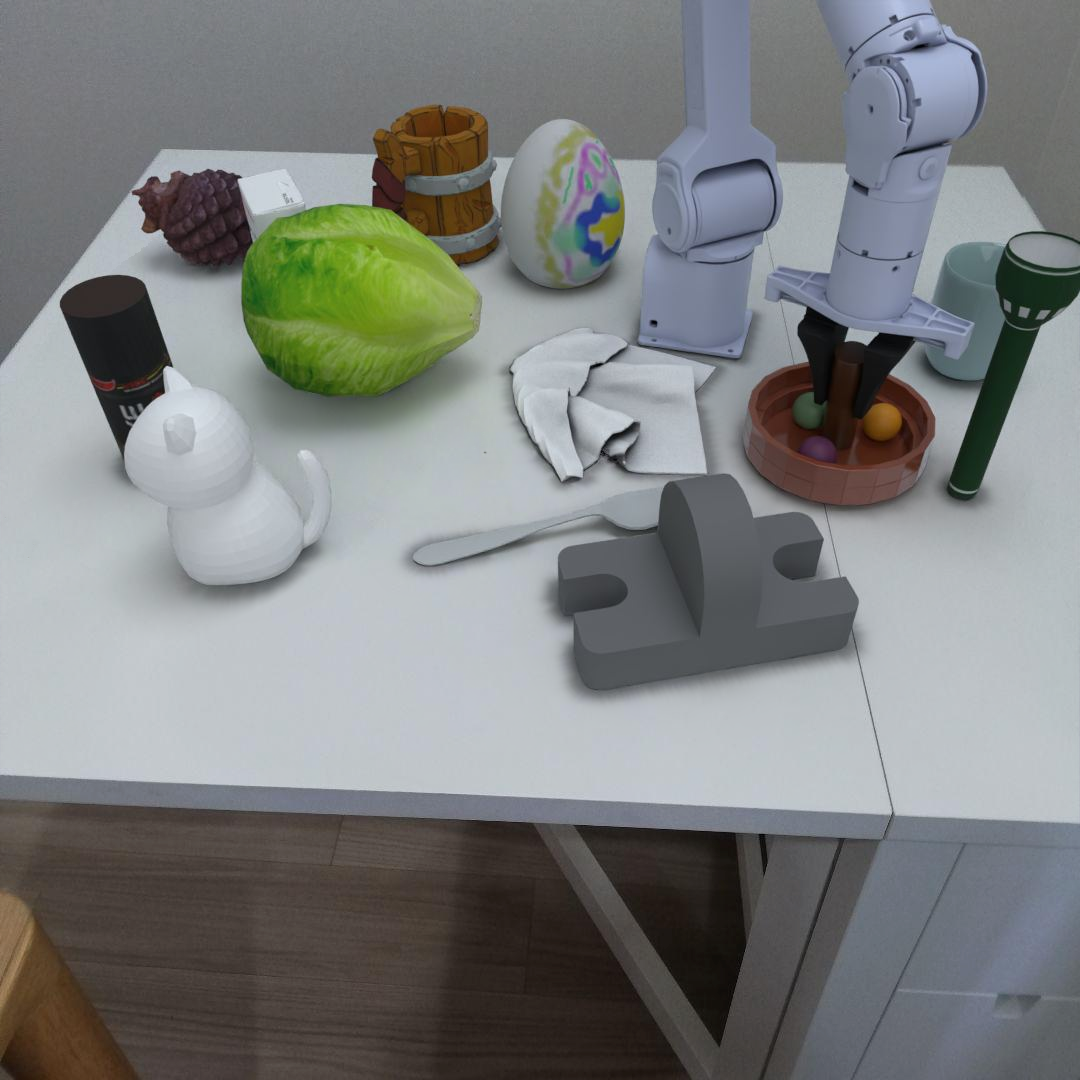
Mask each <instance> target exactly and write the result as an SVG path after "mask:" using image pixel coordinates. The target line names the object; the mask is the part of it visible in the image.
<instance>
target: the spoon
mask: <svg viewBox="0 0 1080 1080" xmlns="http://www.w3.org/2000/svg"><path fill="white" fill-rule="evenodd" d="M663 488H664V487H655V488H647V489H640V490H633V491H628V492H622V493H619V494H615V495H613V496H611V497H609V498H607V499H606V500H604V501H602V502H600V503H598V504H597V503H596V504H593V505H590V506H587V507H585V508H581V509H578V510H575V511H571V512H568V513H565V514H561V515H557V516H552V517H549V518H544V519H540V520H536V521H531V522H526V523H522V524H517V525H513V526H508V527H503V528H499V529H494V530H490V531H485V532H481V533H476V534H472V535H467V536H463V537H457V538H454V539H448V540H443V541H439V542H437V541H436V542H433V543H429V544H427V545H424V546H422V547H420V548H419V549H417V550H416V551H415V552H414V554H413V555H412V560H413V561H414V562H416V563H418V564H419V565H422V566H437V565H442V564H446V563H450V562H453V561H457V560H460V559H463V558H468V557H470V556H474V555H477V554H482V553H484V552H487V551H490V550H493V549H497V548H499V547H502V546H504V545H507V544H510V543H513V542H515V541H518V540H520V539H523V538H525V537H528V536H531V535H534V534H536V533H538V532H541V531H543V530H546V529H551V528H553V527H556V526H559V525H563V524H566V523H569V522H572V521H576V520H580V519H584V518H589V517H594V516H596V517H602V518H603V519H606V520H608V521H610V522H611V523H613V524H614V525H616V526H617V527H620V528H623V529H625V530H626V529H627V530H630V531H631V530H632V531H640V530H641V531H643V530H647V529H650V528H654V527H658V520H659V508H660V500H661V494H662V491H663Z"/></svg>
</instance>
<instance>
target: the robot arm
mask: <svg viewBox="0 0 1080 1080" xmlns="http://www.w3.org/2000/svg"><path fill="white" fill-rule="evenodd" d="M815 2H816V5H817V8H818V10H819V12H820V14H821V17H822V19H823V21H824V24H825V26H826V29H827V31H828V35H829V36H830V38H831V41H832V43H833V46H834V47H835V48H834V49H835V51H836V53H837V55H838V58H839V60H840V62H841V65H842V67H843V70H844V72H845V73H844V74H845V75H846V77H847V80H848V82H849V84H850V86H849V88H848V91H843V92H842V98H841V99H842V100H841V119H842V124H843V129H844V133H845V138H846V139H845V140H846V148H845V153H844V158H843V163H844V164H845V172H846V174H847V175H848V179H847V185H846V190H845V195H844V199H843V200H844V201H843V205H842V210H841V214H840V215H841V216H840V220H839V225H838V230H837V235H836V240H835V246H834V251H833V255H832V260H831V266H830V272H822V271H815V270H814V271H813V270H806V269H797V268H793V267H787V266H785V265H781V264H779V265H777V267H775V269H773V271H771V273H769V274H768V275H767V277H766V283H765V290H764V297H763V299H764V300H766V301H769V302H772V303H778V302H780V301H781V300H782V301H786V302H788V303H792V304H795V305H798V306H801V307H804V308H806V309H805V313H804V315H803V318H802V319H801V320H800V322H799V323H798V324H797V332H796V333H797V334H796V335H797V337H798V339H799V341H800V343H801V345H802V347H803V350H804V352H805V355H806V358H807V362H809V365H810V369H811V374H812V381H813V391H814V403H815V404H818V405H821V406H822V405H823V404H824V403H825V401H826V400H827V394H828V388H829V382H830V376H831V370H832V364H833V358H834V352H835V349H836V347H837V346H838V345H839V344H841V343H843V342H846V339H847V336H848V335H847V334H848V332H849V329H854V330H859V331H865V332H872V333H873V332H874V333H878V334H876V336H874V337H873V338H872V340H870V342H869V343H868V344H866V345H867V346H866V348H865V350H864V363H863V373H862V380H861V386H860V389H859V393H858V396H857V399H856V402H855V405H854V410H853V417H855V418H857V419H863V417H864V416H865V415H866V414H867V412H868V411H869V410H870V409H871V407H872V404H873V402H874V400H875V397H876V395H877V393H878V391H879V389H880V388H881V386H882V384H883V383H884V381H885V379H886V378H887V376H888V375H889V374H890V373H891V372H892V370H893V369H895V367H896V366H897V365H898V364H899V363H900V362H901V361H902V360H903V359H904V357H905V356H906V355H907V353H908V352H909V351H910V350H911V348H912V347H913V346H914V345H915V344H916V342H917V343H920V344H923V345H925V344H926V345H929V346H932V347H936V348H939V349H942V350H944V352H943V354H944V355H945V356H947V357H950V358H953V359H959V358H960V356H961V355H962V354H963V352H964V351H965V349H966V348H967V347H968V344H969V340H970V337H971V334H972V331H973V328H974V325H975V323H974V322H970V321H967V320H964V319H962V318H959V317H957V316H954V315H952V314H950V313H948V312H946V311H944V310H942V309H940V308H939V307H937V306H935V305H933V304H931V302H929V301H927V300H925V299H923V298H922V297H920V296H917V295H916V294H915V293H914V289H915V286H916V282H917V278H918V274H919V270H920V266H921V263H922V259H923V255H924V252H925V247H926V245H927V242H928V241H927V240H928V237H929V233H930V230H931V226H932V222H933V218H934V214H935V210H936V207H937V203H938V200H939V195H940V193H941V188H942V184H943V180H944V177H945V174H946V169H947V166H948V162H949V158H950V155H951V151H952V147H953V143H951V142H953V141H955V140H959V139H961V138H964V137H965V136H967V135H969V133H971V132H972V131H973V129H974V128H975V127H976V126H977V124H978V123H979V121H980V119H981V118H982V116H983V113H984V110H985V107H986V105H987V98H988V78H987V77H988V76H987V72H986V68H985V65H984V62H983V56H982V53H981V51H980V49H979V48H978V47H977V46H976V44H974V43H973V42H972V41H970V40H968V39H966V38H964V37H960V36H957V35H956V34H955V33H954V31H953V29H952V27H951V26H950V25H949V26H948V25H947V24H941V23H940V21H939V19H938V16H937V14H936V12H935V10H934V7H933V4H932V3H931V0H815ZM680 9H681V11H680V12H681V34H682V35H681V37H682V60H683V84H684V110H685V113H684V114H685V127H684V129H683V130H682V131H681V133H680V134H679V135H678V136H677V137H676V138H675V139H674V140H673V141H672V142H671V143H670V144H669V145H668V146H667V147H666V148H665V149H664V150H663V151H662V153H661V154H660V155H659V156H658V157H657V158H656V177H655V178H656V180H655V186H654V187H655V188H654V192H653V196H652V202H651V211H652V218H653V220H652V221H653V223H654V228H655V231H656V233H657V234H653V235H652V236H651V237H650V240H649V243H648V246H647V249H646V254H645V259H644V265H643V272H642V283H641V284H642V285H641V300H640V323H639V324H640V325H639V334H638V338H637V343H638V344H639V345H641V346H645V347H646V346H648V347H654V348H660V349H666V350H667V349H668V350H675V351H681V352H688V353H696V354H703V355H710V356H716V357H724V358H731V359H740V358H741V357H742V354H743V350H744V347H745V343H746V340H747V336H748V333H749V330H750V326H751V323H752V319H753V315H754V313H753V310H751V309H748V308H747V305H748V298H749V292H750V291H749V289H750V282H751V276H752V268H753V260H754V254H755V248H756V247H758V246H761V245H763V243H764V235H765V232H768V231H770V230H772V229H773V228H774V227H775V226H776V225H777V223H778V221H779V219H780V216H781V213H782V209H783V204H784V189H783V184H782V180H781V177H780V174H779V170H778V165H777V146H776V144H775V143H774V142H773V141H772V140H771V139H770V138H769V137H768V136H766V135H765V134H763V133H762V132H761V131H759V130H758V129H757V128H756V127H754V125H752V118H751V117H752V114H751V113H752V112H751V110H752V109H751V107H752V106H751V104H752V101H751V100H752V99H751V93H752V91H751V0H680Z"/></svg>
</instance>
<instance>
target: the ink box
mask: <svg viewBox="0 0 1080 1080" xmlns="http://www.w3.org/2000/svg"><path fill="white" fill-rule="evenodd" d="M238 184H239V188H240V192H241V196H242V200H243V204H244V208H245V212H246V216H247V220H248V224H249V228H250V233H251V237H252V241H253V243H254V242H255V241H256V239H257V238H258V237H259V236H260V235H261V234H262V233H263V232H264V231H265V230H266V229H267V228H268V227H269V225H270V224H271V223H272V222H273V221H274V220H275V219H276V218H280V217H289V216H292V215H295V214H297V213H300V212H303V211H305V210H307V207H306V202H305V200H304V198H303V196H302V194H301V192H300V190H299V189H298V188H297V185H296V182H295V181H294V180H293V179H292V176H291V174H290V173H289V171H288V169H286V168H285V169H284V168H281V169H276V170H271V171H267V172H262V173H258V174H254V175H251V176H250V175H249V176H245V177H242V178H240V179H238Z"/></svg>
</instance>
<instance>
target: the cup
mask: <svg viewBox="0 0 1080 1080" xmlns="http://www.w3.org/2000/svg"><path fill="white" fill-rule="evenodd" d="M1006 244H1007V243H1001V242H994V241H970V242H969V241H968V242H963V243H959V244H956V245H953V247H951V248H949V250H948V251H947V252H946V253H945V255H944V257H943V259H942V263H941V266H940V269H939V272H938V275H937V279H936V282H935V286H934V288H933V289H934V290H933V292H932V293H933V294H932V297H931V301H930V303H931V304H933V305H935V306H937V307H939V308H940V309H942V310H944V311H946V312H948V313H950V314H952V315H954V316H957V317H959V318H962V319H964V320H967V321H970V322H974V323H975V325H974V328H973V331H972V334H971V337H970V340H969V344H968V347H967V348H966V349H965V351H964V352H963V354H962V355H961V356H960V358H959V359H953V358H950V357H947V356H945V355H944V354H943V352H944V350H942V349H939V348H936V347H932V346H929V345H926V344H924V351H925V354H926V357H927V360H928V362H929V363H930V365H931V366H932V368H933V369H935V370H936V371H937V372H938V373H940V374H941V375H943V376H945V377H948V378H951V379H955V380H958V381H970V382H971V381H981V380H984V378H985V375H986V372H987V370H988V367H989V364H990V361H991V358H992V355H993V352H994V349H995V347H996V344H997V341H998V338H999V335H1000V332H1001V329H1002V326H1003V323H1004V321H1005V316H1004V313H1003V311H1002V309H1001V307H1000V305H999V303H998V301H997V296H996V282H995V275H996V271H997V268H998V265H999V262H1000V259H1001V256H1002V253H1003V250H1004V249H1005V247H1006Z"/></svg>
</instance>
